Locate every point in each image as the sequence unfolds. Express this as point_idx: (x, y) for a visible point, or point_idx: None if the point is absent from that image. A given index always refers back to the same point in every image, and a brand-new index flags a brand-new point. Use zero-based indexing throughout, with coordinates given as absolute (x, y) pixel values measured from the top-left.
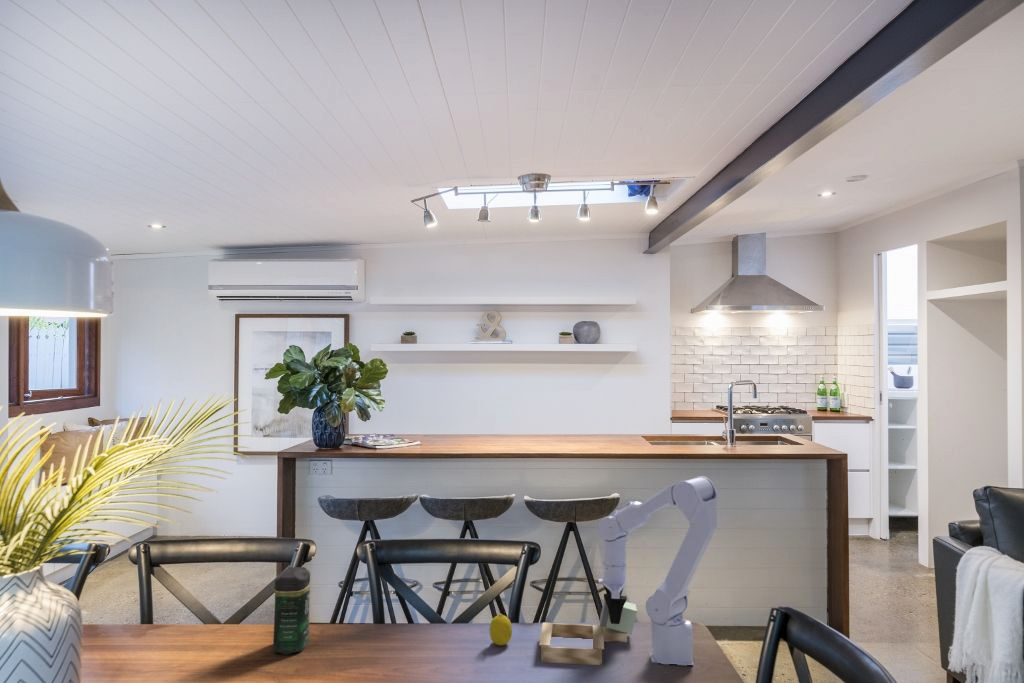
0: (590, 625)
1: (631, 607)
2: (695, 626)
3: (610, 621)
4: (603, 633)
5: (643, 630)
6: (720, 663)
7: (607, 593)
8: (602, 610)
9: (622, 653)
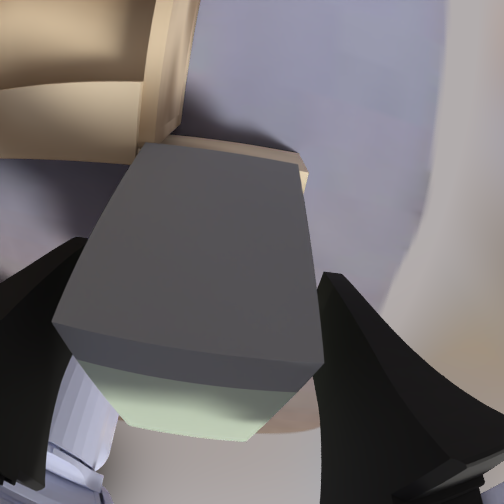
0: (149, 63)
1: (164, 426)
2: (304, 430)
3: (68, 241)
4: (138, 152)
5: None
6: None
7: (384, 389)
8: (216, 217)
9: (64, 215)
